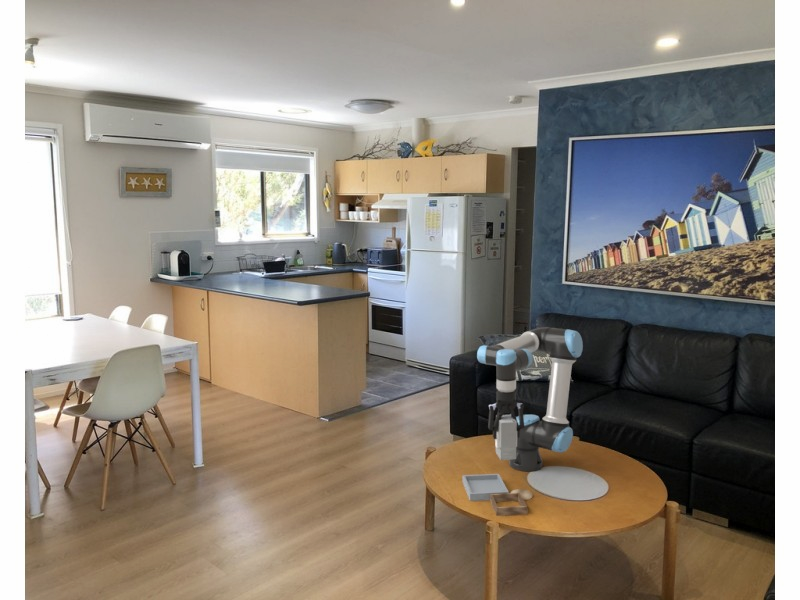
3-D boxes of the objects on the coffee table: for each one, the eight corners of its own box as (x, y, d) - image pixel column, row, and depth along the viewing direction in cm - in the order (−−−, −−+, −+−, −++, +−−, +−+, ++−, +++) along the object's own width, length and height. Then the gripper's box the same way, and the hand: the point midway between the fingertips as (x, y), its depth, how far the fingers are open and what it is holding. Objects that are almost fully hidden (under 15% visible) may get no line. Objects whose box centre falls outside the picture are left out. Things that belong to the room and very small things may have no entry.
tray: (498, 480, 266) (498, 473, 265) (508, 499, 248) (508, 492, 248) (462, 481, 265) (462, 475, 264) (469, 500, 247) (469, 493, 247)
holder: (519, 499, 247) (519, 492, 247) (527, 514, 235) (527, 506, 235) (489, 501, 247) (489, 494, 246) (496, 515, 235) (496, 508, 234)
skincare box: (495, 452, 244) (493, 414, 242) (512, 451, 245) (511, 413, 242) (500, 461, 236) (498, 422, 234) (518, 459, 236) (517, 420, 234)
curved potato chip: (529, 489, 256) (529, 488, 256) (535, 499, 247) (535, 498, 247) (508, 490, 256) (508, 489, 256) (513, 500, 247) (513, 499, 247)
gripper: (527, 385, 241) (527, 441, 244) (479, 387, 239) (479, 443, 243) (533, 391, 234) (533, 448, 237) (483, 393, 232) (483, 451, 235)
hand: (506, 446), depth 240 cm, fingers closed on skincare box, 7 cm apart
